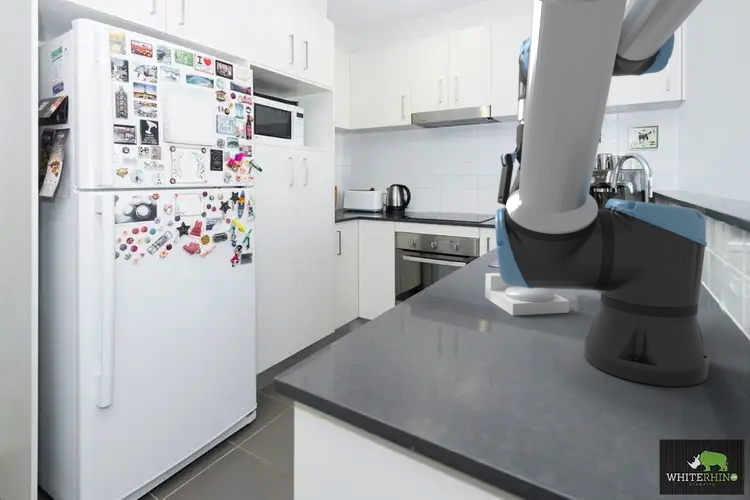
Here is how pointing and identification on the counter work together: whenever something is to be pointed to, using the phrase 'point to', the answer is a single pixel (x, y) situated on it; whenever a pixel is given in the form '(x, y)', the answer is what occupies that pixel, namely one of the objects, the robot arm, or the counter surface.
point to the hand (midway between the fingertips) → (531, 238)
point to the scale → (523, 298)
